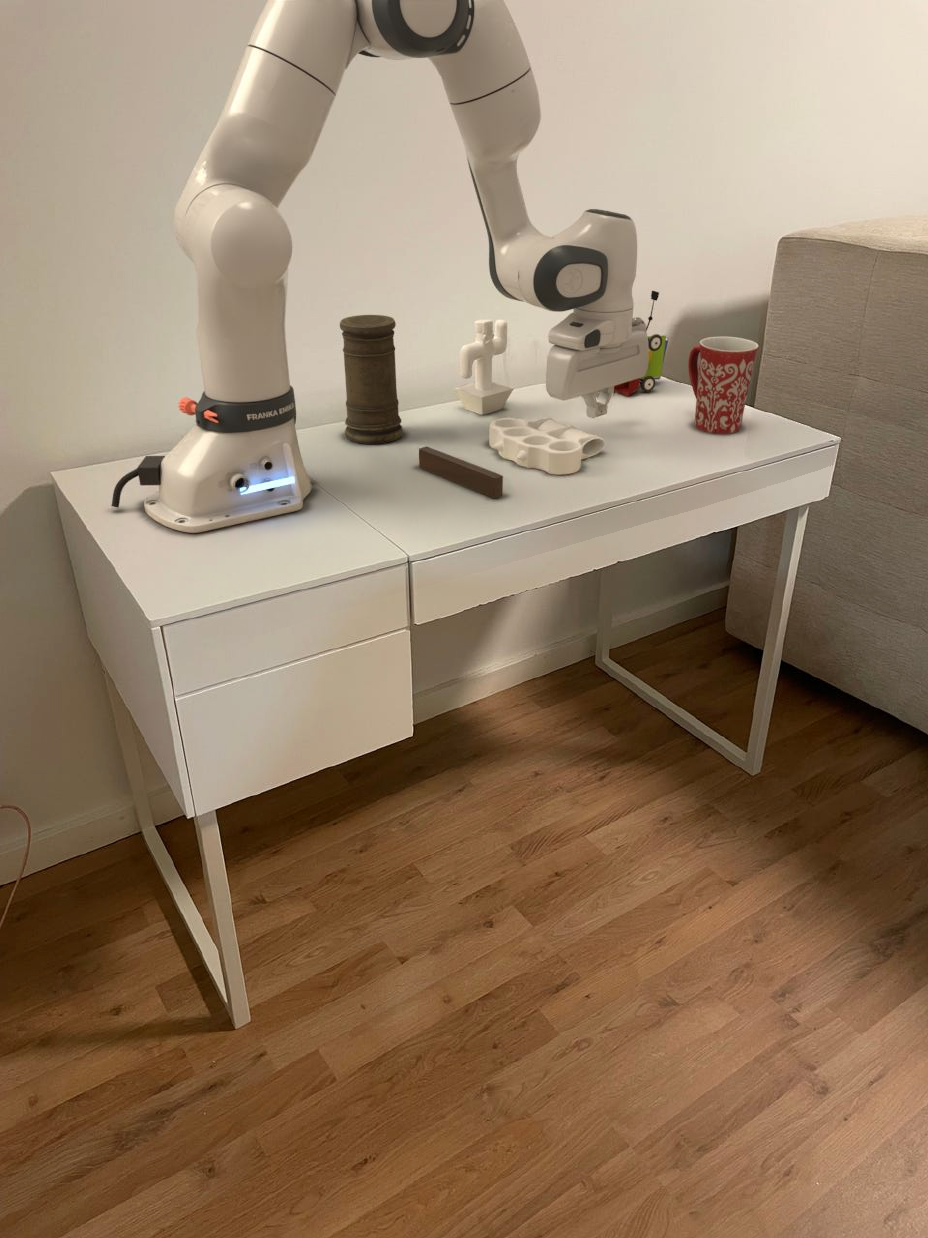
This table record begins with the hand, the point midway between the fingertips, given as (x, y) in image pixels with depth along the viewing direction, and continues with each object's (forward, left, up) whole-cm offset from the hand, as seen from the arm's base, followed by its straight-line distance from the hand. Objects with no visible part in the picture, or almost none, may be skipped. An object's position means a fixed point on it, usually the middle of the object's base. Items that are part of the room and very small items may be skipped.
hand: (596, 415), depth 152 cm
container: (-26, +24, -4) cm, 35 cm away
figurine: (-4, +22, -4) cm, 23 cm away
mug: (+18, -9, -4) cm, 21 cm away
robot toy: (+22, +14, -4) cm, 27 cm away
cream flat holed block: (-12, 0, -3) cm, 13 cm away
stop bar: (-29, 0, -3) cm, 29 cm away
